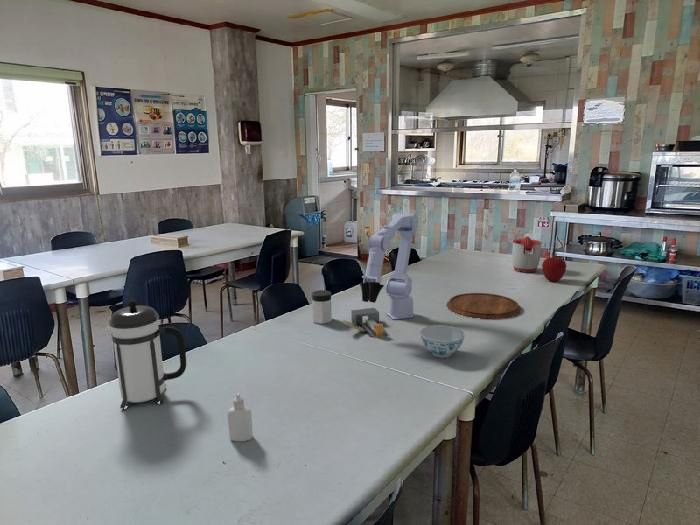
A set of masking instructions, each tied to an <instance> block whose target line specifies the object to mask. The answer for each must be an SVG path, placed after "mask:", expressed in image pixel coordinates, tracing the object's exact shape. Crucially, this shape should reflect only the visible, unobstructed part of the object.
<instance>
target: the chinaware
mask: <svg viewBox="0 0 700 525" xmlns="http://www.w3.org/2000/svg"><path fill="white" fill-rule="evenodd" d="M465 336H466V334H465V332H464V331H463V330H462V329H460V328H457V327H455V326H450V325H443V324H441V325H440V324H438V325H437V324H436V325H428V326H425V327H423V328H421V330H420V338H421V341H422V343H423V345H424V347H425V348H426V349H427V350H428V351H429V352H431V354H432V356H434V357H436V358H440V357H441V358H444V357H446V358H450V357H451V356H452V354H453V353H455V352H456V351H458V350H459V348H461V346H462V344H463V342H464V339H465ZM449 356H450V357H449Z"/></svg>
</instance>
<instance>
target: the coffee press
mask: <svg viewBox="0 0 700 525" xmlns="http://www.w3.org/2000/svg"><path fill="white" fill-rule="evenodd" d="M159 318H160V316H159V313H158V312H157V311H156V310H155V308H153V307H151V306H148V305H138V303H137V301H136V300H134V299H132V300H130V301H128V302H127V306H126V307H122V308H120V309H118V310H116V311H115V312H114V313H113V314H111V317H110V319H109V320H108V325H107V326H106V327H105V330H104V332H108V331H109V332H111V333H110V334H111V341H112V342H113V348H114V354H115V356H114V357H115V363H116V370H117V378H118V379H117V380H118V384H119V392H120V396H121V398H122V402H121V404H120V407H119V408H120V409H121V408H123V409H122V410H124V407H125V405H126V406H129V407H130V405H131V404H133V403H143V402H148V401H151V400H154V401H155V402H156V403H157V402H159V401H160V403H161V404H163V403H164V402H165V399H164V397H163V396H162V394H163V392H164V391H165V388H166V387H167V386H166V383H165V381H170V380H174V379H177V378H179V377H181V376H182V375H184V373H185V371H186V368H187V354H186V353H187V352H186V344H185V339H184V335H183V334H182V331H180V330H179V329H178V328H177V327H174V326H164V327H160V325H159ZM160 334H172V335H174V336H175V338H176V339H177V345H178V356H179V363H180V364H179V368H178V369H177V370H176V371H174V372H169V373H168V372H167V373H165V371H164V364H163V357H162V346H161V338H160ZM165 386H166V387H165ZM162 402H163V403H162Z"/></svg>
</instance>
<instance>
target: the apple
mask: <svg viewBox="0 0 700 525" xmlns="http://www.w3.org/2000/svg"><path fill="white" fill-rule="evenodd" d="M541 269H542V270H541V271H542V273H543V277H545V279H546V280H547V281H548V280H549V281H548V282H550V281H556V282H559V281H560V280H561V279H563V276H564V275H565V273H566V270H567V264H566V261H565V260H564V259H563V258H561V257H556V256H553V257H547V258H546V259H544V260H543V262H542V263H541Z"/></svg>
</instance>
